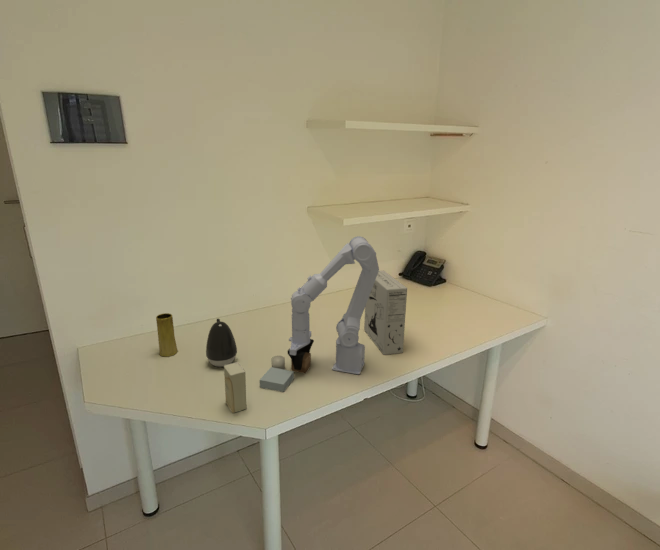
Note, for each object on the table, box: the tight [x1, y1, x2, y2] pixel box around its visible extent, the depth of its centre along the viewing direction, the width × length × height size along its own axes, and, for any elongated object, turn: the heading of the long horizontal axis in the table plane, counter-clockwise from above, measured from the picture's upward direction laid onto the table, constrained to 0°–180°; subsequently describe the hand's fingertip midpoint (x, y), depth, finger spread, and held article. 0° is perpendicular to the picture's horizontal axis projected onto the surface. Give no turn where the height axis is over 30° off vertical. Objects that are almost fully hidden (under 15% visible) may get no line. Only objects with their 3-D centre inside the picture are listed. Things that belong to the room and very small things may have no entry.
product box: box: [363, 270, 408, 356], centre depth 153 cm, size 22×8×25 cm, turn 14°
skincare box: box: [223, 361, 247, 414], centre depth 114 cm, size 6×4×12 cm
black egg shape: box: [205, 318, 238, 368], centre depth 137 cm, size 10×10×15 cm
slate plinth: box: [259, 366, 295, 393], centre depth 127 cm, size 8×8×3 cm
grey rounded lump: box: [270, 355, 286, 370], centre depth 135 cm, size 4×4×4 cm
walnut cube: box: [290, 352, 312, 374], centre depth 135 cm, size 5×5×5 cm
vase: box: [155, 312, 179, 357], centre depth 144 cm, size 6×6×14 cm
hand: (301, 364), depth 136 cm, fingers open, 6 cm apart
